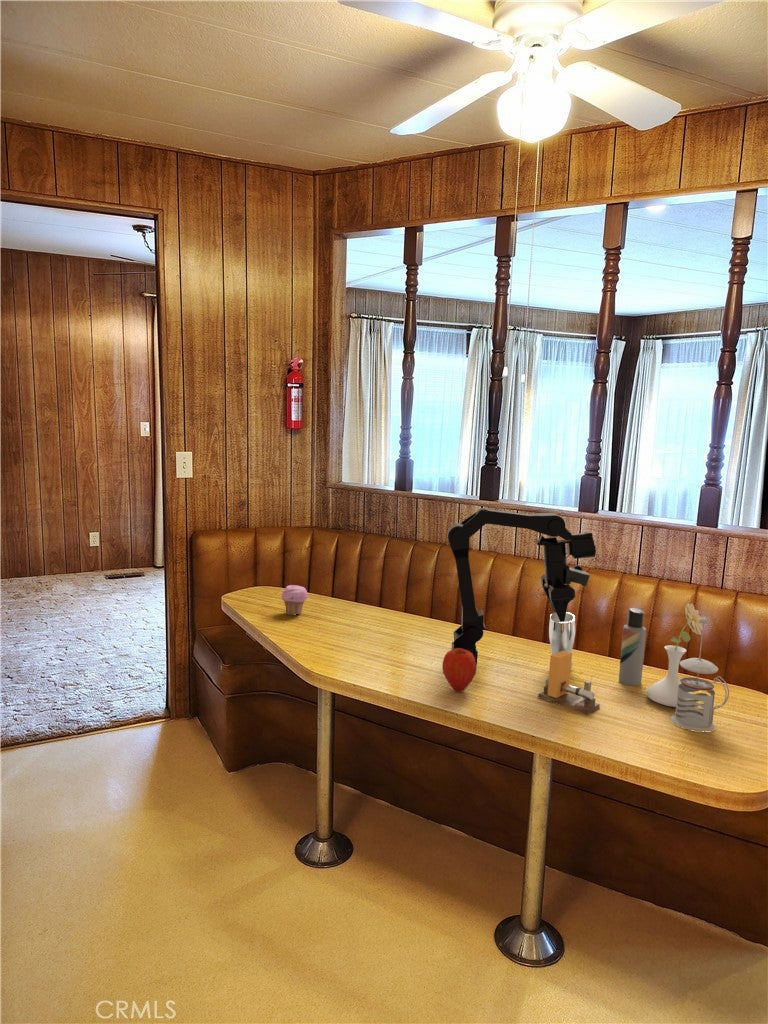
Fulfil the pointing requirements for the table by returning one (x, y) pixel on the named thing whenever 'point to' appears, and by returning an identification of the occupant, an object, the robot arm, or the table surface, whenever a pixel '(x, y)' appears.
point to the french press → (697, 695)
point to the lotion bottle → (632, 648)
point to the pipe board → (573, 700)
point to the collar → (559, 673)
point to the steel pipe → (575, 690)
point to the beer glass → (561, 633)
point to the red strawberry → (459, 668)
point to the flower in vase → (675, 663)
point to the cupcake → (294, 599)
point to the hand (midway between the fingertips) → (559, 616)
